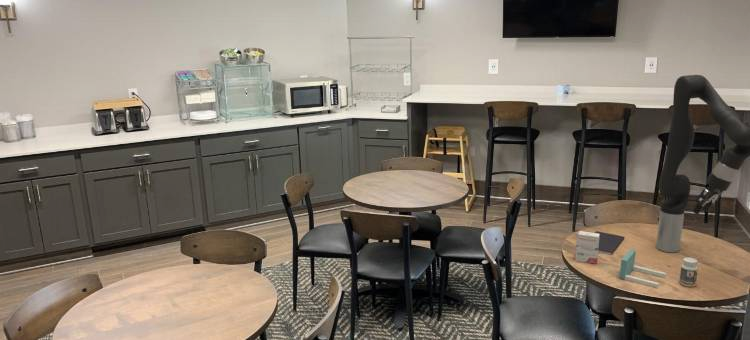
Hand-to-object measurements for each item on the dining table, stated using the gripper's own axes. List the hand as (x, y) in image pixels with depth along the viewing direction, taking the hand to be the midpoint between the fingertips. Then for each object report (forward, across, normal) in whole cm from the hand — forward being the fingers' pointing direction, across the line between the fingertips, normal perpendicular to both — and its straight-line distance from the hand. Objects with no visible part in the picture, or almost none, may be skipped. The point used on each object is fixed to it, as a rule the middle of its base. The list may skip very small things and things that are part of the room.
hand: (699, 211), depth 229 cm
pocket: (+30, +13, -1) cm, 33 cm away
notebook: (+37, -6, -28) cm, 47 cm away
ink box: (+38, +15, -23) cm, 47 cm away
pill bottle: (+25, +6, +12) cm, 28 cm away
